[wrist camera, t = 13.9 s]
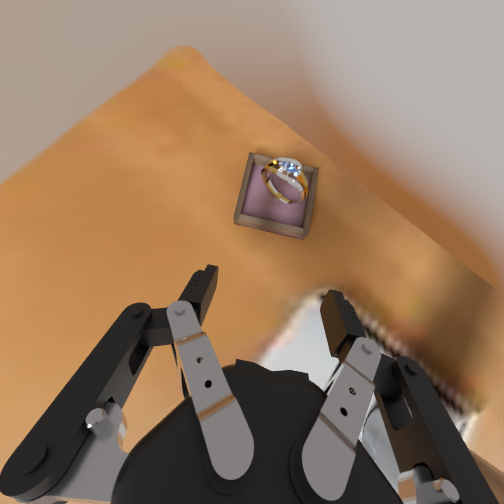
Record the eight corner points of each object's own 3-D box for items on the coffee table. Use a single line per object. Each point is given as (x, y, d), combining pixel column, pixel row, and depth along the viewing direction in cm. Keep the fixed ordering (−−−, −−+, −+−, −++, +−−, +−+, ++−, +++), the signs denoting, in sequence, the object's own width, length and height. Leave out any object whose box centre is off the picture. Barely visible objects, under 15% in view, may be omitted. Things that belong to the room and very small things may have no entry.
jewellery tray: (312, 177, 32) (318, 168, 30) (302, 239, 30) (308, 234, 28) (248, 162, 32) (249, 152, 30) (233, 223, 30) (233, 217, 27)
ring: (254, 189, 30) (260, 154, 22) (268, 177, 31) (279, 138, 23) (286, 220, 30) (304, 195, 22) (300, 206, 30) (322, 177, 22)
